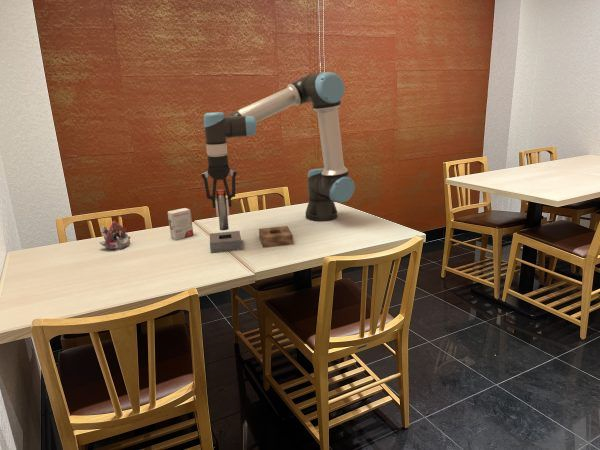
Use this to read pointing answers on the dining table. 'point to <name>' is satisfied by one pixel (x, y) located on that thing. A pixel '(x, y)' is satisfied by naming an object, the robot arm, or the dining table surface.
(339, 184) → the robot arm
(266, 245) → the mount
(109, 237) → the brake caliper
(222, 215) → the lock pin
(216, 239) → the dock
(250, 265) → the dining table surface
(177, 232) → the ink box
